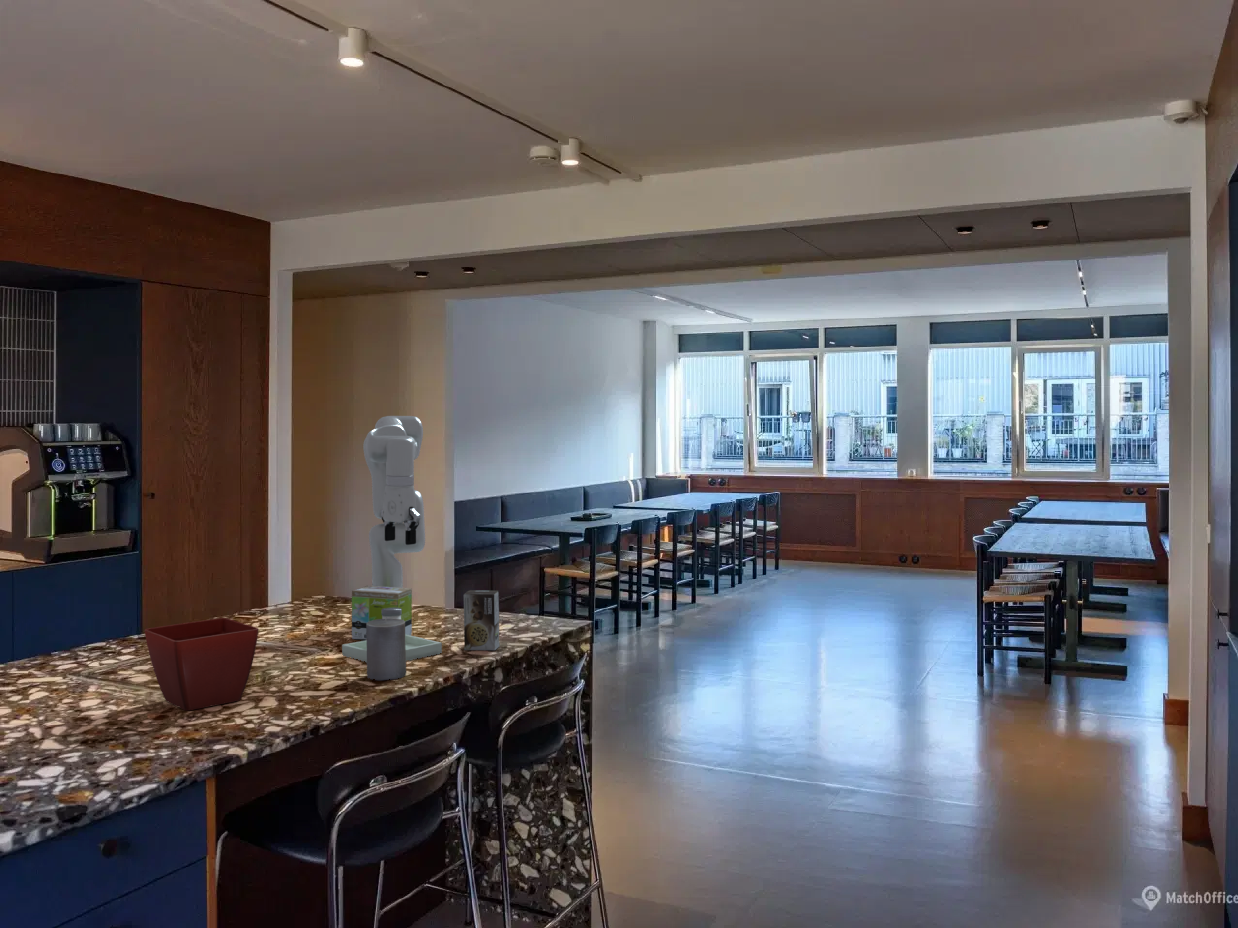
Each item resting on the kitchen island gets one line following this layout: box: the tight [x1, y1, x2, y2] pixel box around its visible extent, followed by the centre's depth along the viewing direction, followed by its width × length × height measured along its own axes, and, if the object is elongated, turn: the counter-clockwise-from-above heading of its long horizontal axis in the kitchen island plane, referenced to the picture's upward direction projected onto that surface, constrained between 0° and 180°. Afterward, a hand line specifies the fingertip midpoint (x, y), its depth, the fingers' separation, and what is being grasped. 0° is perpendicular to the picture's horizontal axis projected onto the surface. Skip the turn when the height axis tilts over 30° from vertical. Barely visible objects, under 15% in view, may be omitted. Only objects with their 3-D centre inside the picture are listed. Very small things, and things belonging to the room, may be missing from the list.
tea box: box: [351, 585, 413, 641], centre depth 300 cm, size 15×10×15 cm, turn 76°
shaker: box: [381, 608, 402, 619], centre depth 279 cm, size 5×5×12 cm
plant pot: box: [144, 617, 259, 711], centre depth 232 cm, size 19×19×17 cm
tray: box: [341, 634, 443, 663], centre depth 279 cm, size 18×20×3 cm
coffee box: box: [463, 589, 500, 651], centre depth 288 cm, size 9×6×16 cm
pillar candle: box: [366, 617, 407, 681], centre depth 256 cm, size 10×10×15 cm
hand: (400, 542), depth 285 cm, fingers open, 9 cm apart
